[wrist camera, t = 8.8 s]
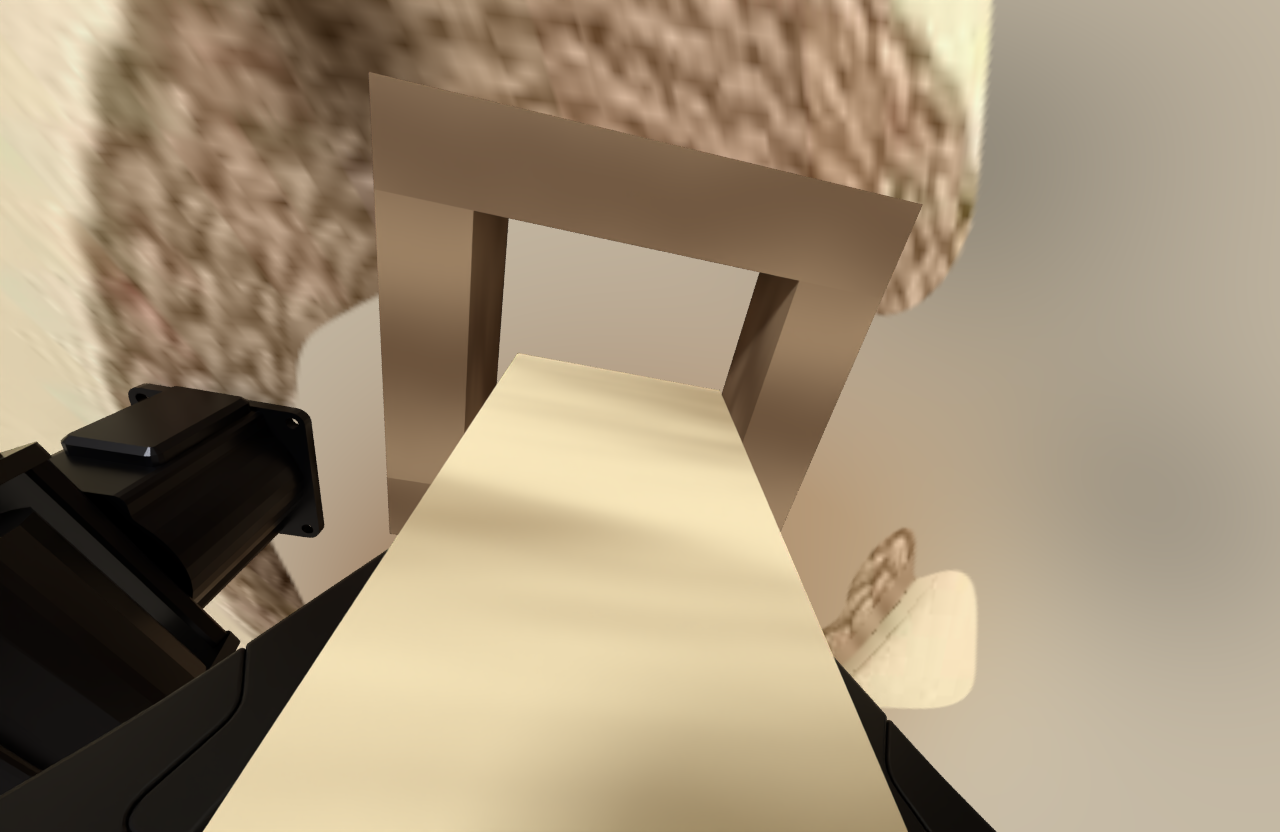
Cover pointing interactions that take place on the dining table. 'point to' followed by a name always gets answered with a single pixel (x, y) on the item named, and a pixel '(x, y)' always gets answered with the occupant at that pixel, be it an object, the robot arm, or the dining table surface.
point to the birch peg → (576, 643)
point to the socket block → (620, 211)
